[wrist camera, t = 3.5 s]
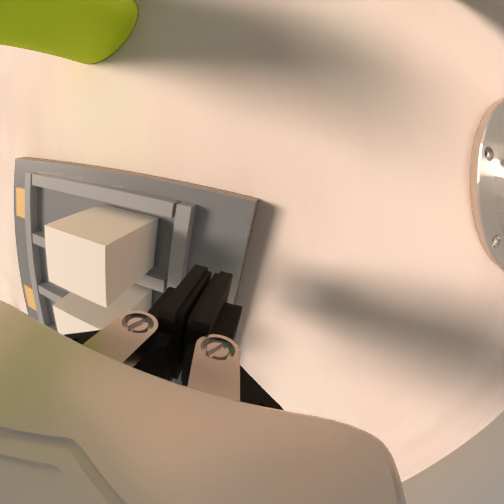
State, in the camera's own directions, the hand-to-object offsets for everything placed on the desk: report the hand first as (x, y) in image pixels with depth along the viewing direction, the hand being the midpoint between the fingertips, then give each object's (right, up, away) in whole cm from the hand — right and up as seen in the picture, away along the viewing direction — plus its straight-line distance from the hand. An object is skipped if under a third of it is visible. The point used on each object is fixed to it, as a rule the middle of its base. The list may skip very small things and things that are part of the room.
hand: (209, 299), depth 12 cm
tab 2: (-7, -1, +5) cm, 8 cm away
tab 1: (-6, +3, +3) cm, 7 cm away
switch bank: (-9, 0, +6) cm, 11 cm away
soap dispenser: (-8, +17, 0) cm, 19 cm away
